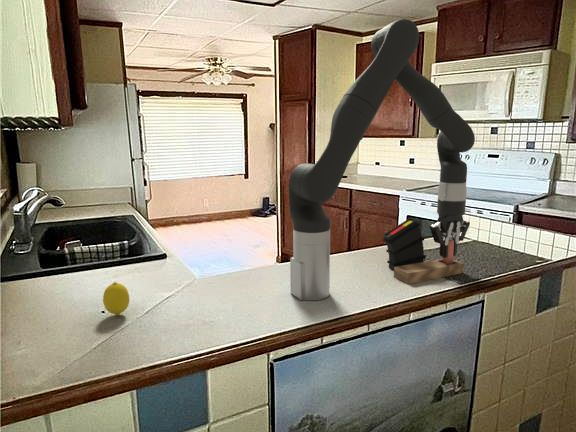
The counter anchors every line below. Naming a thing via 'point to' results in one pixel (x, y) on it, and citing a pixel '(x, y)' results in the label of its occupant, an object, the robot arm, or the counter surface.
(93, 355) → the counter surface
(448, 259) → the pink cylinder
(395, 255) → the magazine
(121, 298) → the lemon
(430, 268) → the joist
